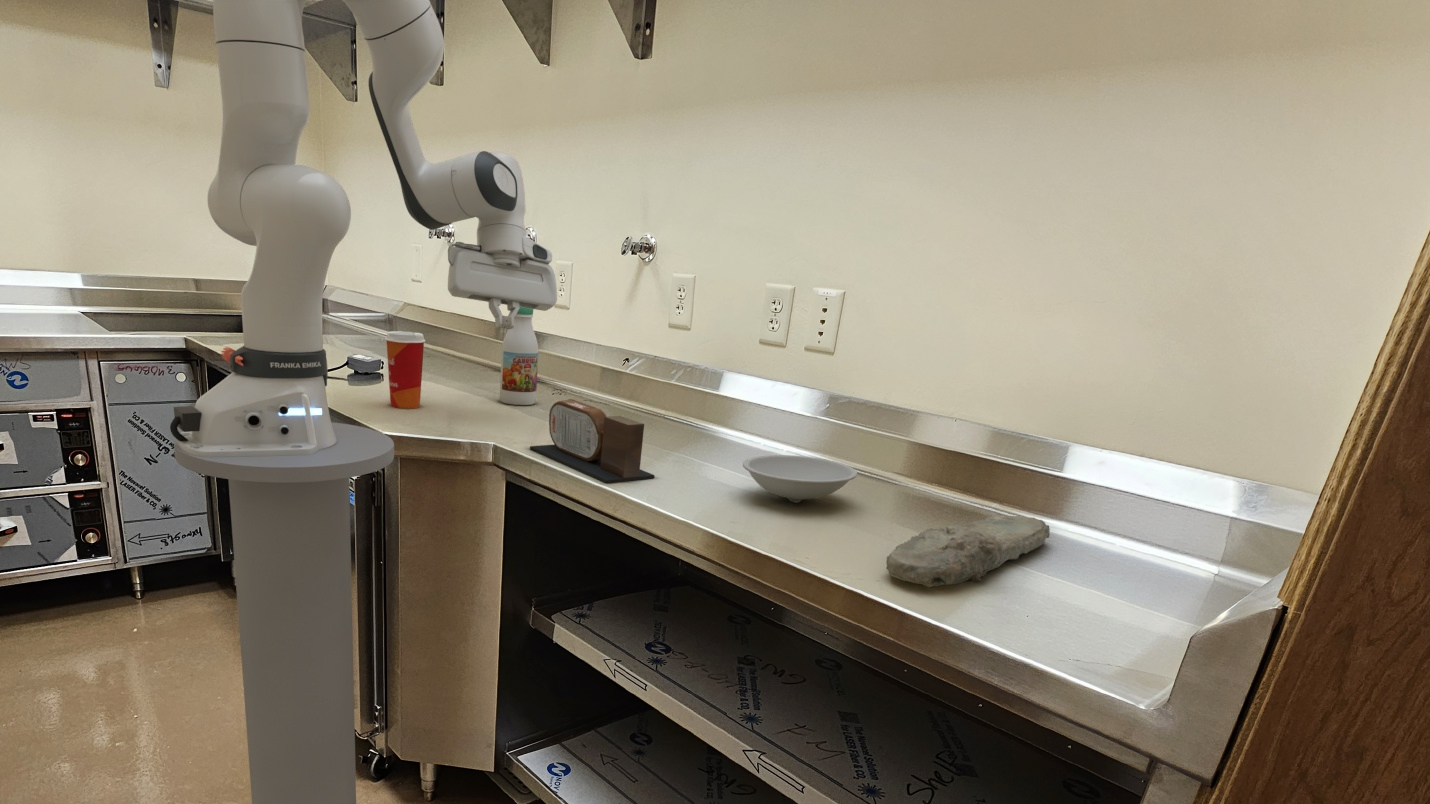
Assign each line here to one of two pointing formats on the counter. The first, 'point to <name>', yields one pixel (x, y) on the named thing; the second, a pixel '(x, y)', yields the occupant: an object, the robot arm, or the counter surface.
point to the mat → (585, 465)
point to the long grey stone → (965, 550)
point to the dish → (798, 475)
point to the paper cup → (405, 368)
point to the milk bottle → (519, 361)
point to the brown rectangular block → (622, 446)
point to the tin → (577, 429)
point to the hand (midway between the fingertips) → (504, 327)
